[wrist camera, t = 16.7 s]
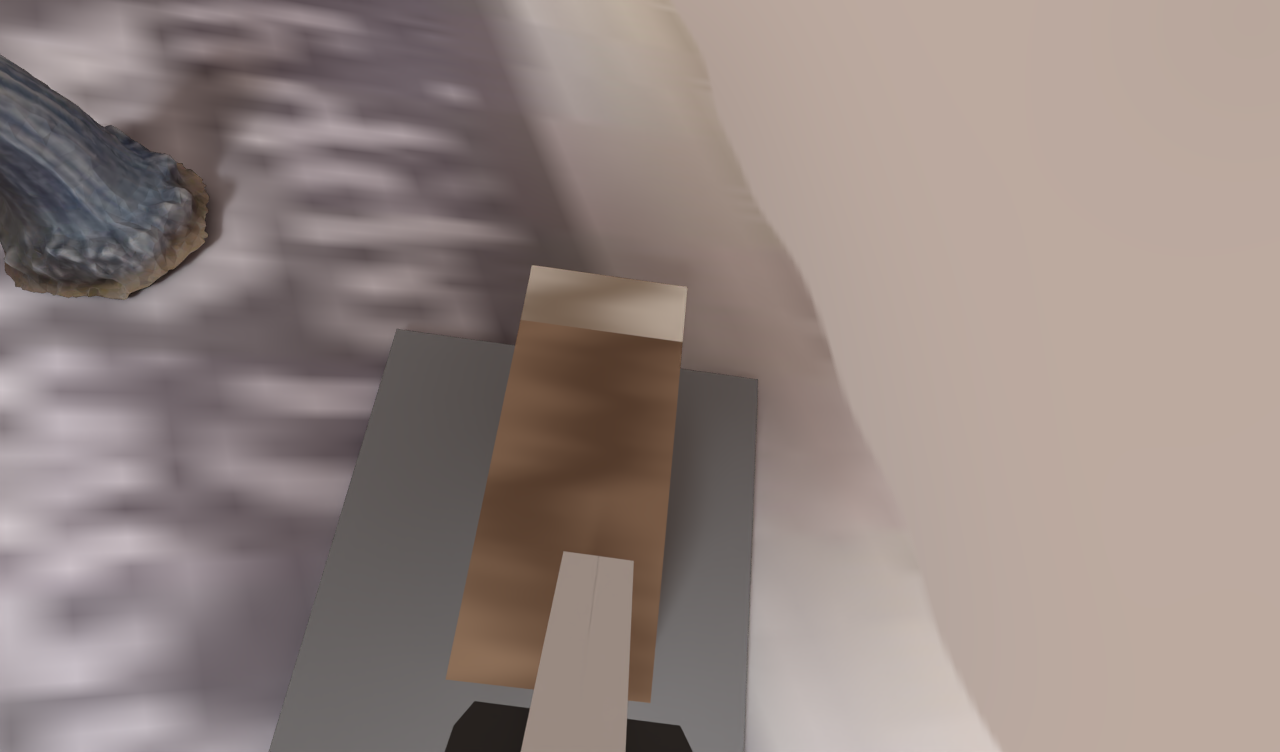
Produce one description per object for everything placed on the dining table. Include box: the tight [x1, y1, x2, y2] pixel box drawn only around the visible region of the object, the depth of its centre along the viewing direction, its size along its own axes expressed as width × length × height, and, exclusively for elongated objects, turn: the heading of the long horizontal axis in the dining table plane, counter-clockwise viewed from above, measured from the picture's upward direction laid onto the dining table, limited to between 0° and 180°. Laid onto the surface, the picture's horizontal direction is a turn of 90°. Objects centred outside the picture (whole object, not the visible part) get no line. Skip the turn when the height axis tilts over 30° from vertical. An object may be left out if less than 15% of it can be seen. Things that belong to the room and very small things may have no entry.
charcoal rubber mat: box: [269, 329, 758, 752], centre depth 22 cm, size 14×18×1 cm
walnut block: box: [446, 265, 687, 703], centre depth 21 cm, size 5×5×12 cm
